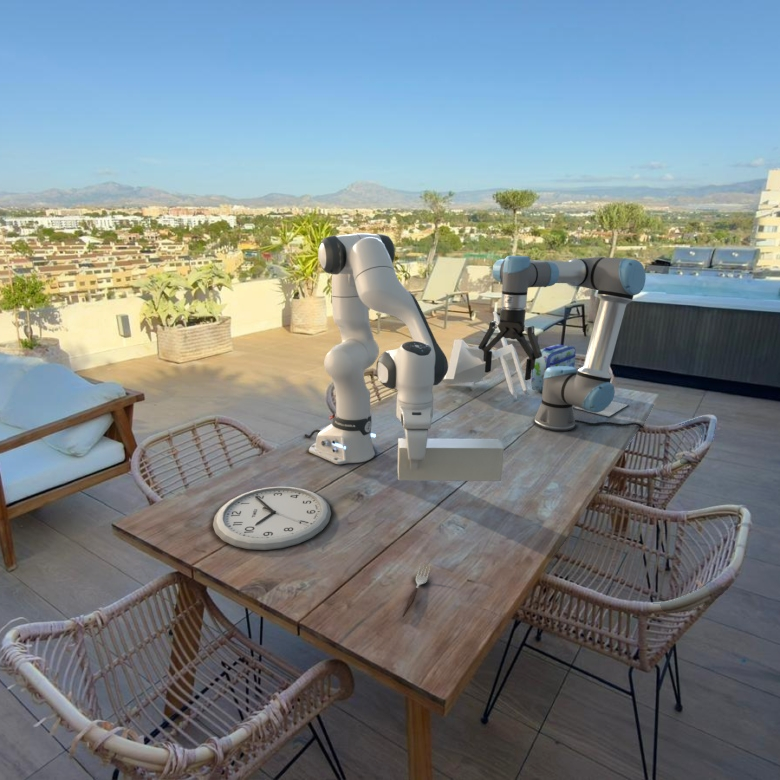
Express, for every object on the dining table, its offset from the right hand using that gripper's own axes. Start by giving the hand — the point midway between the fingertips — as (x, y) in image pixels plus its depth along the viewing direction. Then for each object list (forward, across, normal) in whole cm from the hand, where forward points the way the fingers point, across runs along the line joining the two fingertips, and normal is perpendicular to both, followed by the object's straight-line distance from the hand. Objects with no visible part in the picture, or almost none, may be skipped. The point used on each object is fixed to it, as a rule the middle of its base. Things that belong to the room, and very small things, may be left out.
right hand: (507, 375), depth 165 cm
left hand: (+12, -1, -51) cm, 52 cm away
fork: (+29, +16, -73) cm, 80 cm away
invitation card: (+29, +11, +77) cm, 83 cm away
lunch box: (+29, -15, +88) cm, 94 cm away
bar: (+15, +6, -45) cm, 48 cm away
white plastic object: (+29, -40, +61) cm, 78 cm away
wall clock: (+29, -31, -71) cm, 83 cm away
